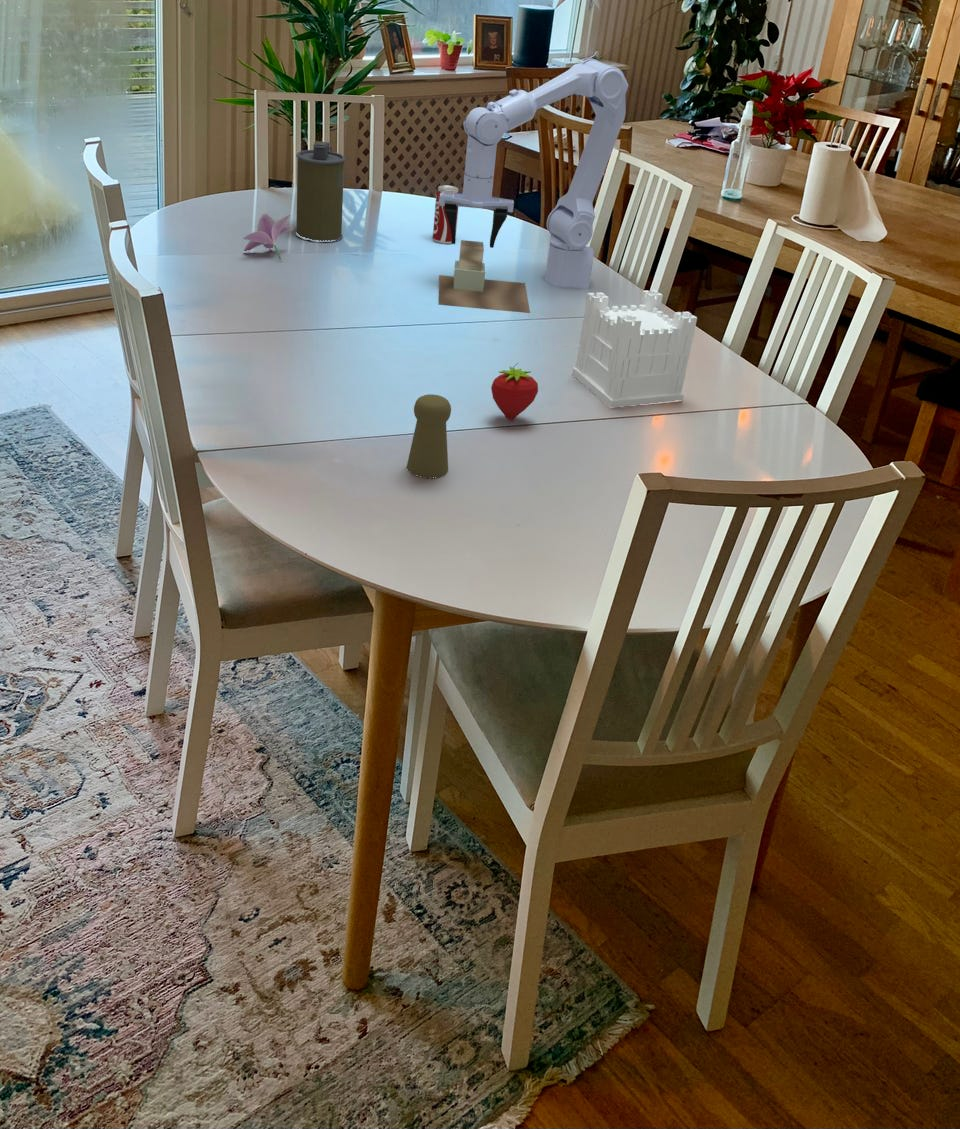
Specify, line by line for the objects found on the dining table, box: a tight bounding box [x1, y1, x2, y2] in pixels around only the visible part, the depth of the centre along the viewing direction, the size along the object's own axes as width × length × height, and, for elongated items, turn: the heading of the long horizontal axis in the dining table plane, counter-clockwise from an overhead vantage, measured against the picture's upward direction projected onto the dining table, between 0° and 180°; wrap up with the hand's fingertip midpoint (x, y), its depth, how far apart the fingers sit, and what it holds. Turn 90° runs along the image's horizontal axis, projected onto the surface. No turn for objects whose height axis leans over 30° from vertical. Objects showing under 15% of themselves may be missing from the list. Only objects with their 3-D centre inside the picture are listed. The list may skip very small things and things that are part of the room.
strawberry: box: [490, 362, 539, 421], centre depth 176 cm, size 6×8×10 cm
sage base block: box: [453, 260, 486, 292], centre depth 228 cm, size 6×6×4 cm
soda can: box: [432, 185, 460, 245], centre depth 254 cm, size 5×5×12 cm
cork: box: [406, 393, 452, 479], centre depth 158 cm, size 6×6×11 cm
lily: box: [242, 213, 295, 261], centre depth 233 cm, size 12×12×10 cm
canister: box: [295, 140, 346, 241], centre depth 245 cm, size 11×10×20 cm
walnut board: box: [438, 274, 531, 314], centre depth 226 cm, size 18×18×1 cm
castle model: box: [571, 289, 698, 408], centre depth 190 cm, size 14×14×15 cm
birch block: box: [458, 239, 485, 271], centre depth 226 cm, size 4×4×4 cm
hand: (472, 244), depth 224 cm, fingers open, 7 cm apart
